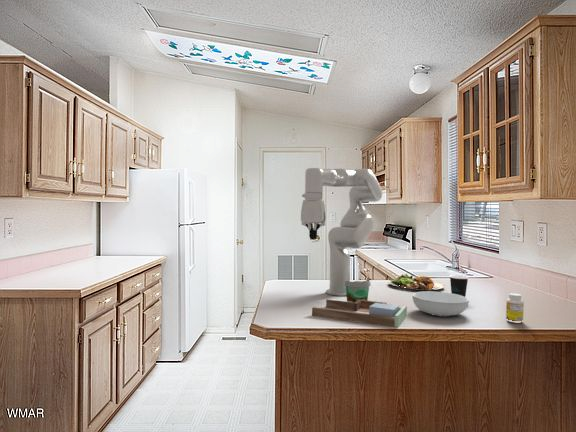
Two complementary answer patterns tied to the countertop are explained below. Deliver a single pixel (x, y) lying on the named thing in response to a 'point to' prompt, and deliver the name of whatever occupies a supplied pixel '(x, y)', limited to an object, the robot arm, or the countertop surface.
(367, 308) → the tile
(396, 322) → the end wall
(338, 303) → the channel walls
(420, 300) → the serving bowl
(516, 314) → the supplement bottle
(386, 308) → the block
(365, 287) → the food container
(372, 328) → the countertop surface
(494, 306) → the countertop surface
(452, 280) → the dixie cup
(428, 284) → the plate of food
